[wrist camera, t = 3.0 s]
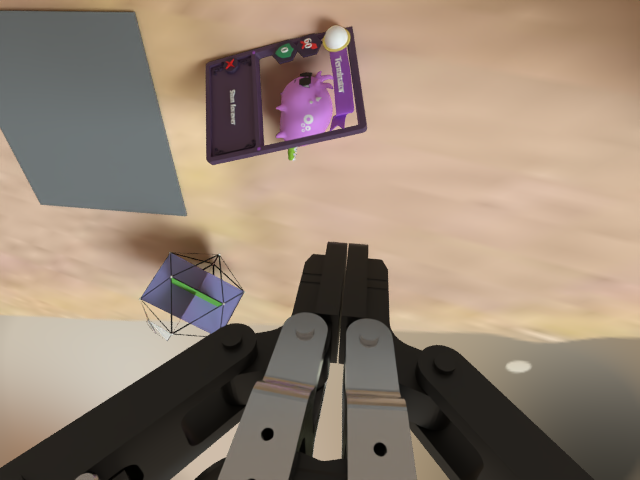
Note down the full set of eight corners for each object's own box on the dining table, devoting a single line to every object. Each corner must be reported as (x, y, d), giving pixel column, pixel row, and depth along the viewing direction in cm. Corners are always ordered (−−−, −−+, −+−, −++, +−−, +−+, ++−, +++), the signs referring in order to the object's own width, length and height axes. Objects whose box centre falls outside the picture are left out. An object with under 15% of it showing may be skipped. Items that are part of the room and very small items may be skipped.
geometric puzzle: (191, 215, 30) (138, 283, 23) (265, 257, 31) (234, 331, 25) (166, 268, 34) (114, 337, 27) (232, 302, 35) (198, 376, 29)
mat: (134, 12, 21) (132, 12, 21) (186, 214, 30) (185, 216, 30) (-59, 9, 23) (-62, 10, 23) (42, 203, 31) (40, 204, 31)
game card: (198, 54, 22) (349, 10, 20) (238, 106, 26) (362, 75, 25) (199, 156, 20) (364, 119, 18) (241, 192, 25) (375, 165, 23)
